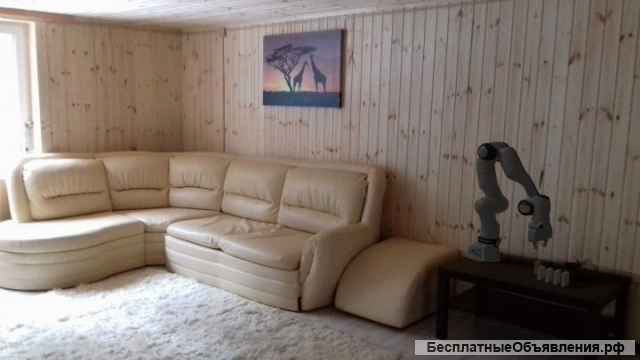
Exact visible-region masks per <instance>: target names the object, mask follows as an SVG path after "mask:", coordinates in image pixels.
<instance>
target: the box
mask: <svg viewBox="0 0 640 360" xmlns="http://www.w3.org/2000/svg"><path fill="white" fill-rule="evenodd" d="M580 271H581V264H580V263H577V262H576V261H575V262H574V261H564V264H563V272H569V279H572V278H580Z"/></svg>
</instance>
